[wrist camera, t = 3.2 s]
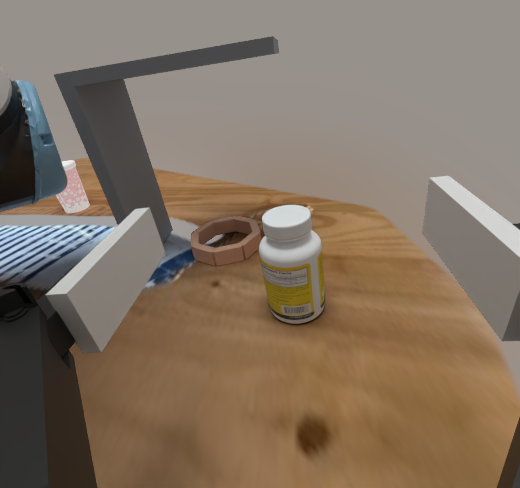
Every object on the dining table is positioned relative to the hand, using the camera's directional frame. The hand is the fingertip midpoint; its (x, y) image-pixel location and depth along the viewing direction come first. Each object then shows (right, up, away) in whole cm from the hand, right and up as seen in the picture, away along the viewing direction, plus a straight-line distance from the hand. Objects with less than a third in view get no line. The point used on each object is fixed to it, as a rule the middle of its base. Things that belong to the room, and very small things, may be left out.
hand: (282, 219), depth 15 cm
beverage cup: (-38, +6, +48) cm, 62 cm away
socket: (-6, -1, +27) cm, 27 cm away
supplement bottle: (+2, -7, +15) cm, 17 cm away
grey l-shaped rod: (-7, -1, +28) cm, 29 cm away
